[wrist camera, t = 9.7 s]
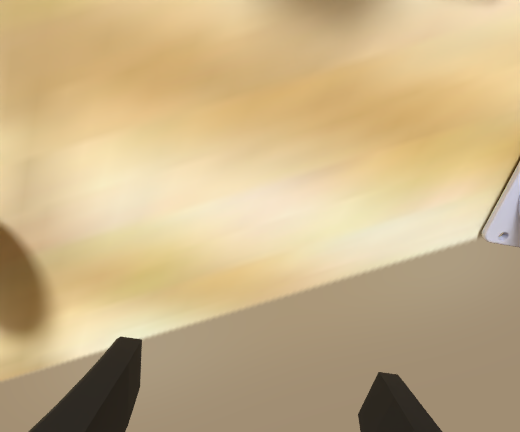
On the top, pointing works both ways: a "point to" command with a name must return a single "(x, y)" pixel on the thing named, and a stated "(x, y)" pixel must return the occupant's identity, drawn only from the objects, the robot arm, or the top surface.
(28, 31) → the top surface
